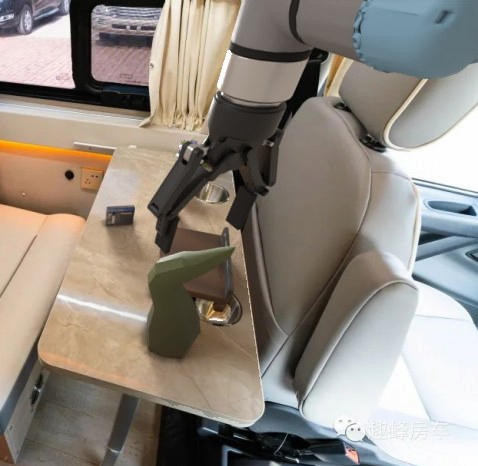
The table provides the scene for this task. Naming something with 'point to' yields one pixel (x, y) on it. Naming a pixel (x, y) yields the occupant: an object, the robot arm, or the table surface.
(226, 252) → the tentacle
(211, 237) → the wooden plant stand
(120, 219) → the mini dv tape
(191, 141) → the passion flower
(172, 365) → the table surface
